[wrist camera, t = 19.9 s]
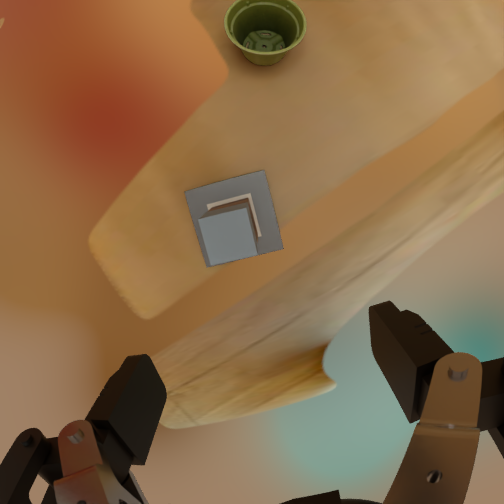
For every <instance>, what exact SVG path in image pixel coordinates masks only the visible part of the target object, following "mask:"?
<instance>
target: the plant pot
mask: <svg viewBox="0 0 504 504" xmlns="http://www.w3.org/2000/svg"><path fill="white" fill-rule="evenodd" d="M224 27H225V31H226V33H227V36H228V37H229V39H230V40H231V41H232V42H233V43H234V44H235V45H236V46H237V47H239V48H240V49H241V50H242V52H243V54H244V56H245V57H246V58H247V59H248V60H249V61H251V62H252V63H254V64H257V65H264V66H265V65H272V64H274V63H276V62H278V61H280V60H281V59H282V58H283V57H284V55H285V54H286V52H287V51H288V50H290V49H292V48H294V47H295V46H296V45H297V44H299V43H300V41H301V40H302V39H303V37H304V35H305V32H306V27H307V23H306V18H305V15H304V13H303V11H302V10H301V9H300V7H299V6H298V5H297V4H296V3H295V2H293V1H292V0H237V1H235V2H234V3H233V4H232V5H231V6H230V7H229V9H228V10H227V12H226V14H225V18H224ZM261 33H269V34H271V35H270V36H269V35H261ZM247 42H249V46H248V48H246V43H247ZM263 45H266V48H263V47H262V46H263ZM280 45H281V46H282V50H280Z"/></svg>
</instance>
